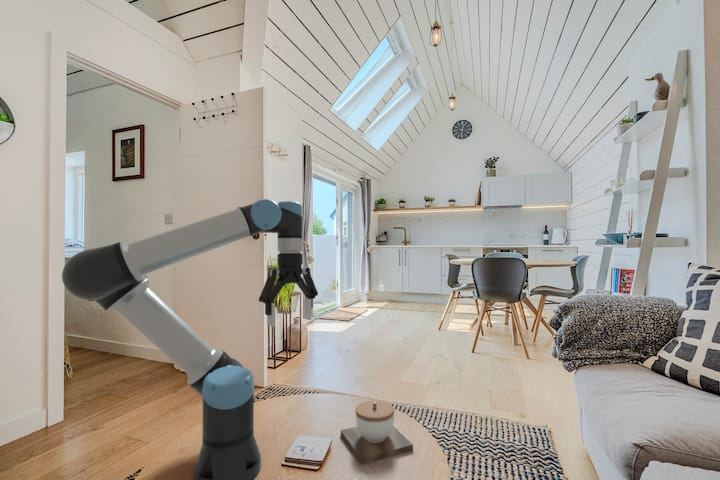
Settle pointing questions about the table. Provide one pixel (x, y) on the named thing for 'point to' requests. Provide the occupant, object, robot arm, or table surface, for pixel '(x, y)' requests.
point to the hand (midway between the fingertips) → (290, 322)
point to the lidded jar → (374, 420)
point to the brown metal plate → (375, 445)
